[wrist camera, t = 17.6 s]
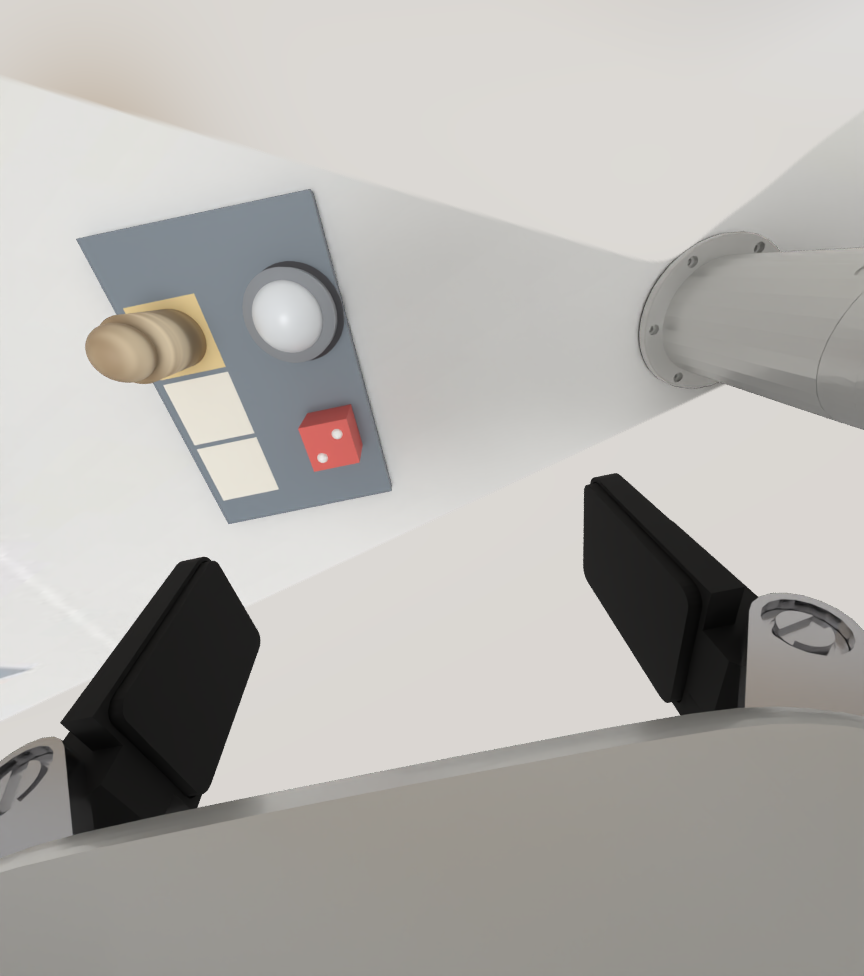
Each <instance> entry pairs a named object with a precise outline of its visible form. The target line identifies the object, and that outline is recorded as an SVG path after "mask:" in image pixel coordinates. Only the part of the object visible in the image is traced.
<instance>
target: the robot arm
mask: <svg viewBox="0 0 864 976" xmlns="http://www.w3.org/2000/svg"><path fill="white" fill-rule="evenodd" d="M650 327H651V328H650ZM649 329H650V330H649ZM639 338H640V349H641V352H642V356H643V359H644V361H645V363H646V365H647V367H648V368H649V370H650V371H651V372H652V373H653V374H654V375H655V376H656V377H657V378H659V379H661V380H662V381H664V382H666V383H668V384H670V385H673V386H676V387H681V388H701V387H706V386H711V385H713V384H716V383H718V382H721V383H724V384H727V385H730V386H733V387H736V388H739V389H742V390H745V391H748V392H751V393H754V394H757V395H760V396H763V397H766V398H769V399H772V400H775V401H778V402H781V403H784V404H787V405H790V406H793V407H796V408H799V409H802V410H805V411H808V412H811V413H814V414H817V415H820V416H823V417H826V418H829V419H832V420H835V421H838V422H841V423H845V424H847V425H850V426H854V427H857V428H860V429H863V430H864V247H862V248H843V249H824V250H806V251H787V252H780V251H779V249H778V247H777V246H776V245H774V244H773V243H772V242H771V241H770V240H769V239H767V238H765V237H763V236H761V235H759V234H756V233H750V232H731V233H725V234H720V235H715V236H712V237H710V238H708V239H705V240H703V241H701V242H699V243H697V244H695V245H694V246H692V247H691V248H689V249H688V250H686V251H685V252H684V253H683V254H681V255H680V256H679V257H678V258H677V259H676V260H675V261H673V262H672V263H671V265H670V266H669V267H668V268H667V269H666V270H665V272H664V273H663V274H662V275H661V277H660V278H659V280H658V281H657V283H656V284H655V286H654V288H653V289H652V291H651V293H650V295H649V298H648V300H647V302H646V304H645V307H644V311H643V314H642V318H641V323H640V332H639ZM583 550H584V551H583V557H584V558H583V568H584V574H585V577H586V579H587V581H588V583H589V585H590V586H591V588H592V589H593V591H594V593H595V594H596V596H597V597H598V599H599V600H600V602H601V604H602V605H603V607H604V608H605V610H606V611H607V613H608V615H609V616H610V618H611V620H612V621H613V623H614V624H615V626H616V628H617V629H618V631H619V632H620V634H621V635H622V637H623V638H624V640H625V642H626V643H627V645H628V646H629V648H630V650H631V651H632V653H633V654H634V656H635V658H636V659H637V661H638V662H639V664H640V666H641V667H642V669H643V670H644V672H645V673H646V675H647V677H648V678H649V680H650V681H651V683H652V685H653V686H654V688H655V689H656V691H657V693H658V694H659V696H660V697H661V698H662V699H663V700H664V701H665V702H666V703H669V702H672V703H673V704H674V706H675V707H676V709H677V711H678V712H679V714H680V715H681V716H675V717H669V718H663V719H657V720H651V721H646V722H640V723H634V724H628V725H622V726H617V727H611V728H605V729H599V730H594V731H589V732H584V733H578V734H573V735H568V736H562V737H557V738H552V739H547V740H541V741H536V742H531V743H526V744H521V745H515V746H510V747H505V748H499V749H494V750H489V751H484V752H478V753H473V754H468V755H462V756H457V757H452V758H447V759H442V760H437V761H432V762H427V763H421V764H417V765H412V766H406V767H401V768H396V769H391V770H386V771H380V772H375V773H370V774H365V775H361V776H355V777H350V778H345V779H340V780H335V781H329V782H325V783H319V784H314V785H309V786H304V787H299V788H294V789H289V790H284V791H279V792H274V793H269V794H264V795H260V796H254V797H249V798H245V799H239V800H234V801H230V802H225V803H219V804H215V805H210V806H205V807H200V808H197V807H198V804H199V801H200V799H201V796H202V794H204V793H205V792H206V791H207V790H208V788H209V787H210V785H211V782H212V780H213V777H214V774H215V771H216V768H217V766H218V763H219V760H220V757H221V754H222V752H223V749H224V746H225V743H226V740H227V737H228V735H229V732H230V729H231V726H232V723H233V721H234V718H235V715H236V712H237V709H238V706H239V703H240V701H241V698H242V695H243V692H244V690H245V687H246V684H247V681H248V678H249V675H250V673H251V670H252V667H253V664H254V661H255V658H256V656H257V653H258V650H259V647H260V635H259V632H258V630H257V629H256V627H255V625H254V624H253V622H252V620H251V619H250V617H249V615H248V614H247V612H246V610H245V608H244V606H243V605H242V603H241V601H240V600H239V598H238V596H237V595H236V593H235V591H234V589H233V588H232V586H231V584H230V583H229V581H228V579H227V577H226V576H225V574H224V572H223V571H222V569H221V567H220V566H219V564H218V563H217V562H216V561H211V560H210V559H209V558H207V557H200V558H196V559H191V560H186V561H182V562H179V563H178V564H177V565H176V567H175V568H174V569H173V571H172V572H171V573H170V575H169V576H168V578H167V579H166V580H165V582H164V583H163V584H162V586H161V587H160V588H159V590H158V591H157V592H156V594H155V595H154V596H153V598H152V599H151V601H150V602H149V603H148V605H147V606H146V607H145V609H144V610H143V611H142V613H141V614H140V615H139V617H138V618H137V620H136V621H135V622H134V624H133V625H132V626H131V628H130V629H129V630H128V632H127V633H126V634H125V636H124V637H123V638H122V640H121V641H120V643H119V644H118V645H117V647H116V648H115V649H114V651H113V652H112V653H111V655H110V656H109V657H108V659H107V660H106V662H105V663H104V664H103V666H102V667H101V668H100V670H99V671H98V672H97V674H96V675H95V676H94V678H93V679H92V681H91V682H90V683H89V685H88V686H87V688H86V689H85V690H84V691H83V693H82V694H81V696H80V697H79V698H78V700H77V701H76V702H75V704H74V705H73V706H72V708H71V709H70V711H69V712H68V713H67V714H66V716H65V717H64V718H63V720H62V721H61V722H60V723H61V724H62V725H63V726H64V727H65V728H67V729H68V730H69V731H70V732H69V733H68V735H67V736H66V737H65V739H64V740H63V741H62V740H61V739H58V738H56V737H46V738H41V739H38V740H36V741H33V742H30V743H28V744H26V745H25V746H23V747H21V748H19V749H17V750H16V751H14V752H12V753H11V754H9V755H8V756H7V757H5V758H4V759H3V760H1V761H0V976H864V630H862V628H861V627H860V626H859V625H858V624H857V623H856V622H855V621H854V620H853V619H852V618H850V617H849V616H847V615H846V614H844V613H843V612H841V611H840V610H838V609H837V608H834V607H832V606H830V605H828V604H826V603H824V602H822V601H819V600H816V599H813V598H810V597H806V596H803V595H797V594H791V593H770V594H767V595H763V596H760V597H758V596H756V595H755V594H754V593H753V592H752V591H751V590H750V589H749V588H747V587H746V586H745V585H744V584H743V583H742V582H741V581H740V580H738V579H737V578H736V577H735V576H734V575H733V574H732V573H731V572H729V571H728V570H727V569H726V568H725V567H724V566H723V565H722V564H720V563H719V562H718V561H717V560H716V559H715V558H714V557H713V556H711V555H710V554H709V553H708V552H707V551H706V550H705V549H704V548H702V547H701V546H700V545H699V544H698V543H696V542H695V540H693V539H692V538H691V537H690V536H689V535H688V534H686V533H685V532H684V531H683V530H682V529H681V528H680V527H679V526H677V525H676V524H675V523H674V522H673V521H671V520H670V519H669V518H667V517H666V516H665V515H664V514H663V513H662V512H661V511H660V510H659V509H657V508H656V507H655V506H654V505H653V504H652V503H651V502H650V501H649V500H647V499H646V498H645V497H644V496H643V495H642V494H641V493H640V492H638V491H637V490H636V489H635V488H634V487H633V486H632V485H631V484H629V483H628V482H627V481H626V480H625V479H623V477H622V476H620V475H619V474H617V473H614V474H609V475H604V476H600V477H594V478H593V479H592V480H591V483H590V484H589V485H586V486H585V488H584V547H583Z"/></svg>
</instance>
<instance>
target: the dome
mask: <svg viewBox="0 0 864 976" xmlns="http://www.w3.org/2000/svg"><path fill="white" fill-rule="evenodd" d="M242 309H243V317H244V321H245V325H246V327H247V329H248V332H249V333H250V335H251V337H252V338H253V340H254V341H255V342H256V344H257V345H258V346H259V347H260V348H261V349H263V350H264V351H265V352H266V353H268V354H269V355H271V356H273V357H274V358H277V359H279V360H282V361H286V362H292V363H299V362H305V361H309V360H311V359H313V358H315V357H317V356H318V355H320V354H321V353H322V352H323V351H324V350H325V349H326V347H327V346H328V345H329V344H330V342H331V341H332V339H333V337H334V335H335V332H336V328H337V311H336V306H335V303H334V300H333V298H332V296H331V294H330V293H329V291H328V289H327V288H326V287H325V286H324V284H323V283H322V282H321V281H320V280H319V279H317V278H316V277H315V276H313V275H312V274H310V273H308V272H306V271H304V270H301V269H298V268H292V267H273V268H269V269H266V270H264V271H262V272H260V273H259V274H258V275H256V276H255V277H254V278H253V279H252V280H251V282H250V283H249V284H248V286H247V288H246V290H245V293H244V297H243V305H242Z"/></svg>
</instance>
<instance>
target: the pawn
mask: <svg viewBox="0 0 864 976" xmlns="http://www.w3.org/2000/svg"><path fill="white" fill-rule="evenodd" d="M206 346H207V345H206V338H205V335H204V333H203V331H202V329H201V327H200V326H199V325H198V323H197V322H196V321H195V320H194V319H193V318H191V317H190V316H189V315H187V314H185V313H184V312H181V311H179V310H175V309H161V310H153V311H145V312H136V313H128V314H120V315H114V316H111V317H108V318H107V319H105V320H104V321H103V322H102V323H101V324H100V326H98V327H96V328H95V329H93V330H92V331H91V333H90V334H89V335H88V337H87V340H86V344H85V350H86V354H87V357H88V359H89V361H90V363H91V364H92V365H93V367H94V368H95V369H96V370H97V371H99V372H100V373H101V374H102V375H104V376H106V377H108V378H110V379H112V380H115V381H119V382H126V383H131V382H134V383H139V384H149V383H154V382H156V381H158V380H161V379H163V378H166V377H168V376H170V375H173V374H175V373H177V372H180V371H182V370H184V369H187V368H189V367H191V366H194V365H196V364H198V363H199V362H200V361H201V360H202V359H203V357H204V355H205V353H206Z"/></svg>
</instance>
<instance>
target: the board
mask: <svg viewBox="0 0 864 976" xmlns="http://www.w3.org/2000/svg"><path fill="white" fill-rule="evenodd" d="M76 240H77V242H78V244H79V245H80V247H81V249H82V251H83V253H84V255H85V257H86V258H87V260H88V262H89V264H90V266H91V268H92V270H93V272H94V273H95V275H96V277H97V279H98V281H99V283H100V285H101V287H102V288H103V290H104V292H105V294H106V296H107V298H108V300H109V301H110V303H111V305H112V307H113V309H114V311H115V313H116V315H120V314H128V313H136V312H145V311H153V310H161V309H175V310H179V311H181V312H184V313H185V314H187V315H189V316H190V317H191V318H193V319H194V320H195V321H196V322H197V323H198V325H199V326H200V327H201V329H202V331H203V333H204V335H205V338H206V345H207V346H206V353H205V355H204V357H203V359H202V360H201V361H200V362H199V363H198V364H196V365H194V366H191V367H189V368H187V369H184V370H182V371H180V372H177V373H175V374H173V375H170V376H168V377H166V378H163V379H161V380H158V381H156V382H154V383H153V384H154V386H155V388H156V389H157V391H158V393H159V395H160V397H161V399H162V401H163V402H164V404H165V406H166V408H167V410H168V412H169V414H170V416H171V417H172V419H173V421H174V423H175V425H176V427H177V429H178V431H179V432H180V434H181V436H182V438H183V440H184V442H185V444H186V445H187V447H188V449H189V451H190V453H191V455H192V457H193V459H194V460H195V462H196V464H197V466H198V468H199V470H200V472H201V474H202V475H203V477H204V479H205V481H206V483H207V485H208V487H209V489H210V490H211V492H212V494H213V496H214V498H215V500H216V502H217V503H218V505H219V507H220V509H221V511H222V513H223V515H224V517H225V518H226V520H227V522H228V524H232V523H237V522H242V521H246V520H251V519H256V518H261V517H266V516H271V515H276V514H281V513H286V512H291V511H296V510H300V509H305V508H310V507H315V506H320V505H325V504H330V503H335V502H340V501H345V500H349V499H354V498H359V497H364V496H369V495H374V494H379V493H384V492H389V491H392V485H391V481H390V477H389V474H388V470H387V466H386V462H385V459H384V455H383V451H382V448H381V444H380V440H379V436H378V433H377V429H376V425H375V421H374V418H373V414H372V410H371V407H370V403H369V399H368V395H367V392H366V388H365V384H364V380H363V377H362V373H361V369H360V365H359V362H358V358H357V354H356V351H355V347H354V343H353V339H352V336H351V332H350V328H349V324H348V321H347V317H346V313H345V310H344V306H343V302H342V298H341V295H340V291H339V287H338V283H337V280H336V276H335V272H334V269H333V265H332V261H331V257H330V254H329V250H328V246H327V242H326V239H325V235H324V231H323V227H322V224H321V220H320V216H319V213H318V209H317V205H316V201H315V198H314V194H313V192H312V191H311V190H310V189H308V190H303V191H298V192H294V193H289V194H284V195H280V196H275V197H270V198H266V199H261V200H256V201H252V202H247V203H242V204H238V205H233V206H228V207H223V208H219V209H214V210H209V211H205V212H200V213H195V214H191V215H186V216H181V217H177V218H172V219H167V220H163V221H158V222H153V223H149V224H144V225H139V226H134V227H130V228H125V229H120V230H116V231H111V232H106V233H102V234H97V235H92V236H88V237H83V238H78V239H76ZM273 267H292V268H298V269H301V270H304V271H306V272H308V273H310V274H312V275H313V276H315V277H316V278H317V279H319V280H320V281H321V282H322V283H323V284H324V286H325V287H326V288H327V289H328V291H329V293H330V294H331V296H332V298H333V300H334V303H335V306H336V311H337V328H336V332H335V335H334V337H333V339H332V341H331V342H330V344H329V345H328V346H327V347H326V349H325V350H324V351H323V352H322V353H321V354H320V355H318V356H317V357H315V358H313V359H311V360H309V361H305V362H299V363H292V362H286V361H282V360H279V359H277V358H274V357H273V356H271V355H269V354H268V353H266V352H265V351H264V350H263V349H261V348H260V347H259V346H258V345H257V344H256V342H255V341H254V340H253V338H252V337H251V335H250V333H249V332H248V329H247V327H246V325H245V321H244V317H243V309H242V305H243V297H244V293H245V290H246V288H247V286H248V284H249V283H250V282H251V280H252V279H253V278H254V277H255V276H256V275H258V274H259V273H260V272H262V271H264V270H266V269H269V268H273Z"/></svg>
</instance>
